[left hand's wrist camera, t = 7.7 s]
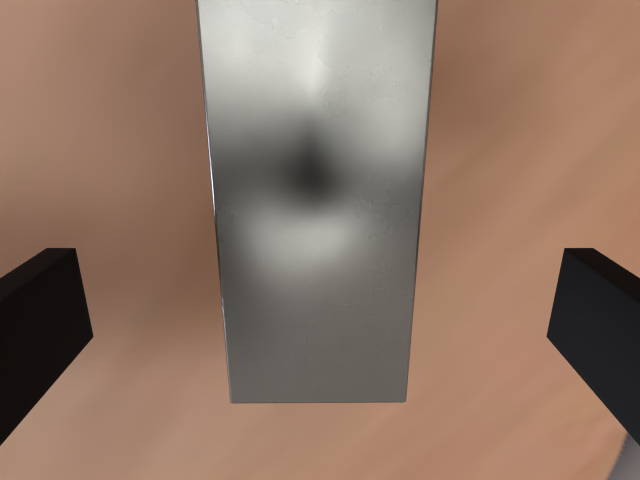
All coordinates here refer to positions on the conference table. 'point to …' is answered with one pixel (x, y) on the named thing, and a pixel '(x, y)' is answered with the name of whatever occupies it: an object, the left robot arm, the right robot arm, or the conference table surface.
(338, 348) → the bar
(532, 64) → the conference table surface
